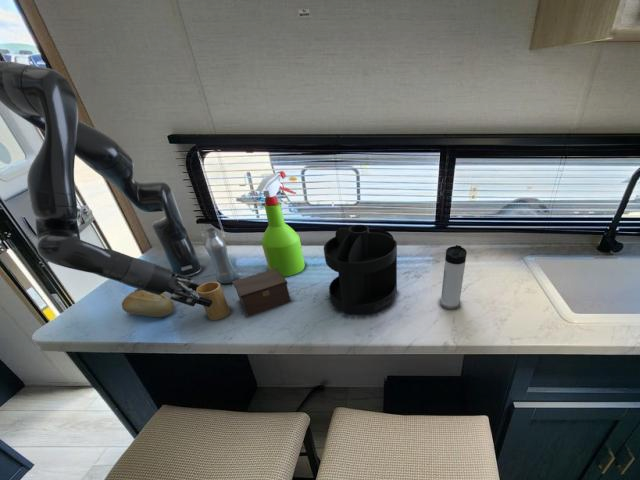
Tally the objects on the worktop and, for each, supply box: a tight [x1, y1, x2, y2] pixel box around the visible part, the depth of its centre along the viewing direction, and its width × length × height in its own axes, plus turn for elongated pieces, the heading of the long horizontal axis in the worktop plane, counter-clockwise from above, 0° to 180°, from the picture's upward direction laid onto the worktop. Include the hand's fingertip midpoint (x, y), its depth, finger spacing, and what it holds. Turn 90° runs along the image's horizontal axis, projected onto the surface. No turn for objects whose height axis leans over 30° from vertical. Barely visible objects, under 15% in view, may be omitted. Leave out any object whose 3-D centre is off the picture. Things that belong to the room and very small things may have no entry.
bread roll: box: [121, 288, 175, 318], centre depth 98 cm, size 10×15×8 cm, turn 86°
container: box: [323, 224, 398, 316], centre depth 101 cm, size 22×23×25 cm
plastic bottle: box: [203, 227, 238, 284], centre depth 110 cm, size 6×7×20 cm
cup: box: [195, 281, 231, 321], centre depth 97 cm, size 6×6×10 cm
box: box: [231, 268, 291, 317], centre depth 103 cm, size 11×14×8 cm
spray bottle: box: [255, 170, 306, 278], centre depth 116 cm, size 14×18×35 cm
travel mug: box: [440, 244, 468, 310], centre depth 100 cm, size 6×7×20 cm
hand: (208, 297), depth 96 cm, fingers open, 8 cm apart
